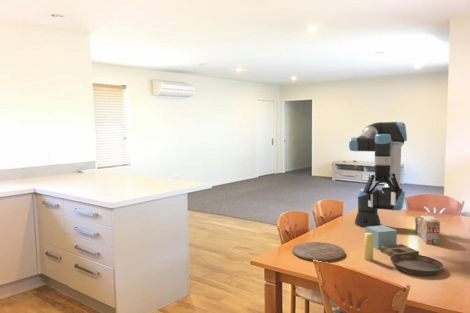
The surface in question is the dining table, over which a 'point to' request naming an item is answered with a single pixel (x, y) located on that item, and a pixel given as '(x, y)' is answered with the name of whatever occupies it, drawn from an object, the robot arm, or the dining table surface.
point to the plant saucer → (416, 264)
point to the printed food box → (428, 229)
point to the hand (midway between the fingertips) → (381, 205)
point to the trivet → (318, 251)
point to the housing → (382, 236)
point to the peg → (369, 246)
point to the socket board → (397, 250)
